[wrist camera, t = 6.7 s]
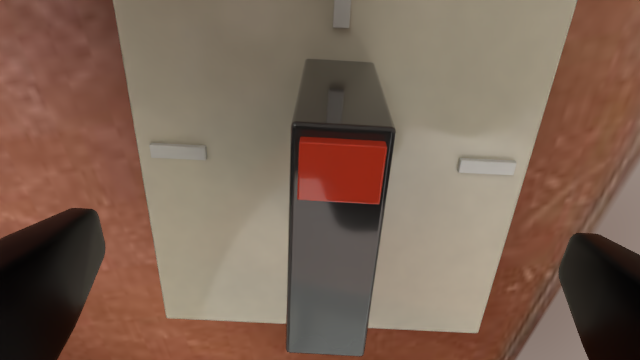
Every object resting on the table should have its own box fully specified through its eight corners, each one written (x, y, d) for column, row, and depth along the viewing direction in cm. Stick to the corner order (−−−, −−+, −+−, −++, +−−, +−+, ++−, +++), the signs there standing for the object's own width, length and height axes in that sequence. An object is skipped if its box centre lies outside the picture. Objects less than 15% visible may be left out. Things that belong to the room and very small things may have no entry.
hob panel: (191, 259, 17) (163, 323, 14) (145, -122, 11) (83, -141, 8) (455, 272, 17) (480, 338, 14) (546, -103, 11) (618, -115, 8)
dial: (354, 240, 13) (365, 368, 9) (298, 237, 13) (284, 364, 9) (375, 61, 10) (400, 135, 6) (304, 57, 10) (288, 128, 6)
